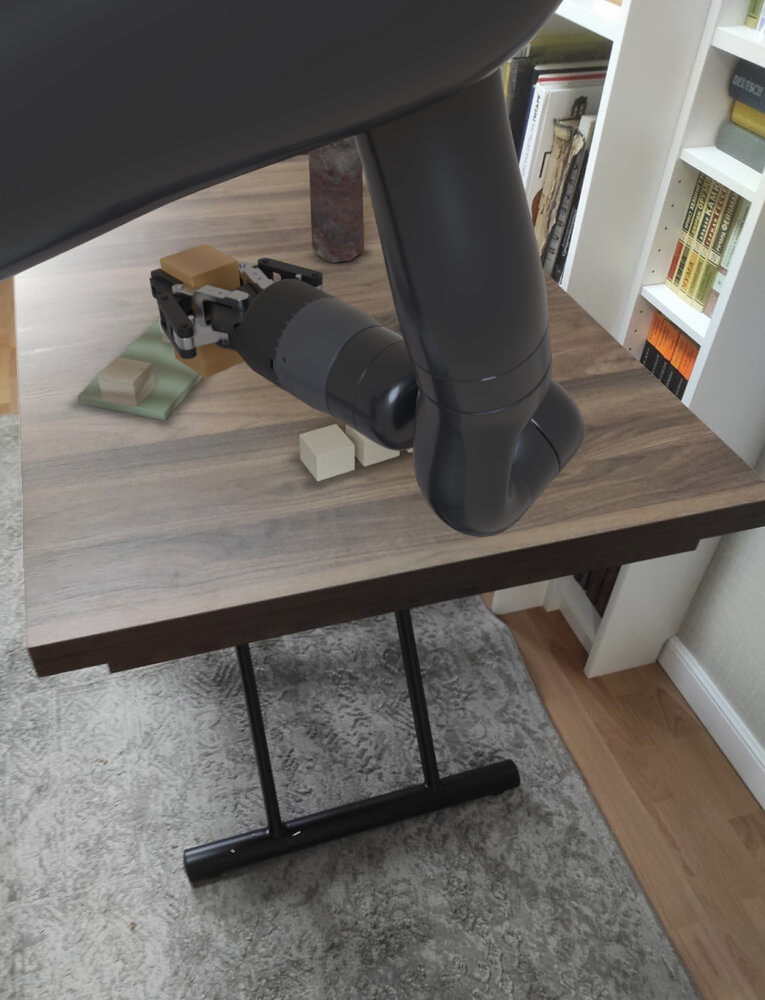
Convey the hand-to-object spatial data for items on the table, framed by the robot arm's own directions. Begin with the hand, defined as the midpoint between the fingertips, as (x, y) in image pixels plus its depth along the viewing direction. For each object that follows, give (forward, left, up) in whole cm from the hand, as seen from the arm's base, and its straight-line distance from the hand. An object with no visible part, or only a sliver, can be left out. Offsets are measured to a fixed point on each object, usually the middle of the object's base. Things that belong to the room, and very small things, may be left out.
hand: (182, 272), depth 68 cm
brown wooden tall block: (+1, -3, -7) cm, 8 cm away
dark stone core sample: (+33, +39, -20) cm, 55 cm away
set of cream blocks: (+15, -5, -20) cm, 25 cm away
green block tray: (+4, +22, -20) cm, 29 cm away
